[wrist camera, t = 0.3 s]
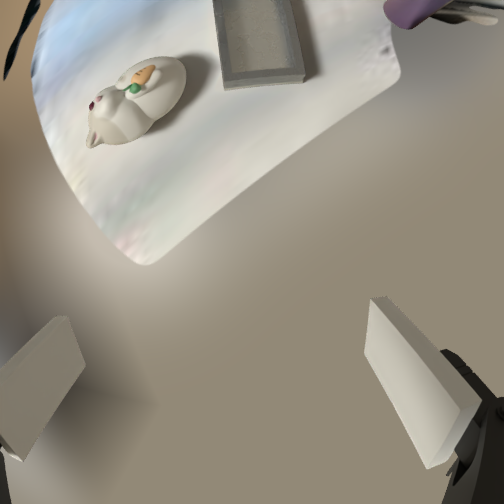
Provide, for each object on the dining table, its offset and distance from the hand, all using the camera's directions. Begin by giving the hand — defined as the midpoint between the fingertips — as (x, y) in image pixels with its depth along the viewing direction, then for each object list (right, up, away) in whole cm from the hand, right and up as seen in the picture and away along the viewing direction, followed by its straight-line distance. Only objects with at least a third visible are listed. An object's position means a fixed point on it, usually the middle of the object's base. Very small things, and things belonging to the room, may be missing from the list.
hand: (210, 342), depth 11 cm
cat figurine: (-13, +23, +23) cm, 34 cm away
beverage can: (+24, +40, +18) cm, 50 cm away
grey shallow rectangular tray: (+2, +34, +19) cm, 39 cm away
